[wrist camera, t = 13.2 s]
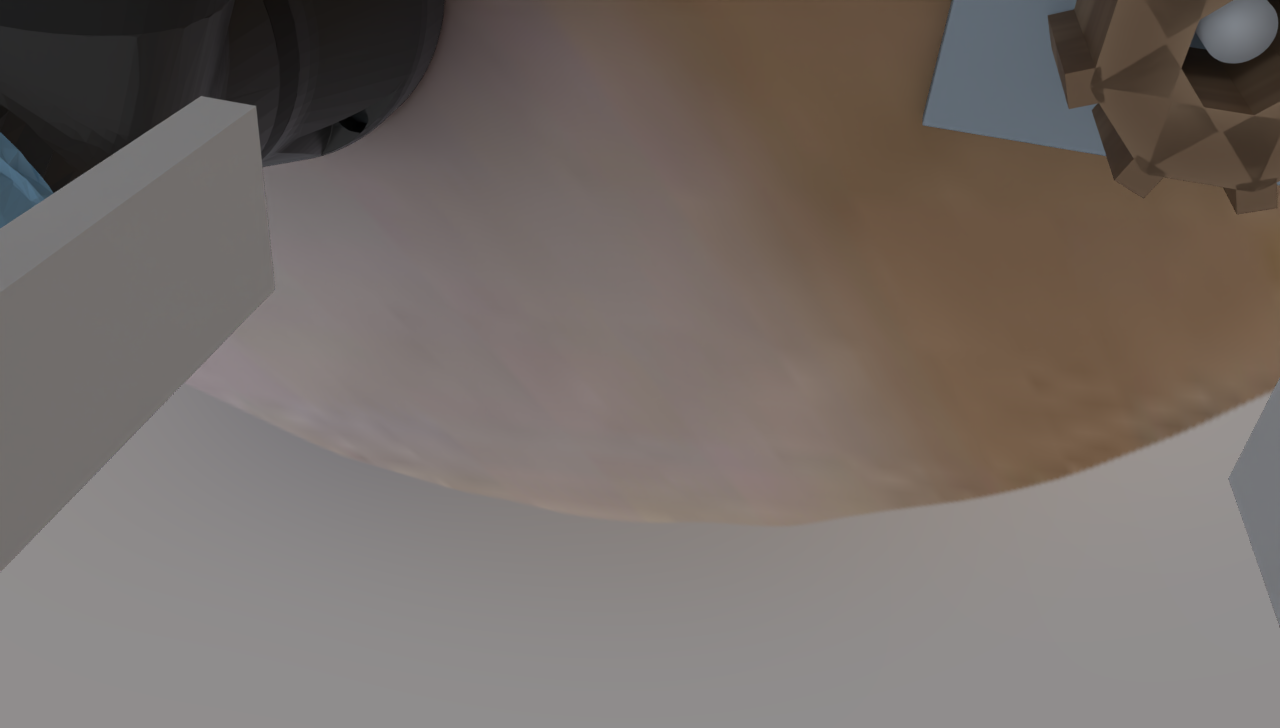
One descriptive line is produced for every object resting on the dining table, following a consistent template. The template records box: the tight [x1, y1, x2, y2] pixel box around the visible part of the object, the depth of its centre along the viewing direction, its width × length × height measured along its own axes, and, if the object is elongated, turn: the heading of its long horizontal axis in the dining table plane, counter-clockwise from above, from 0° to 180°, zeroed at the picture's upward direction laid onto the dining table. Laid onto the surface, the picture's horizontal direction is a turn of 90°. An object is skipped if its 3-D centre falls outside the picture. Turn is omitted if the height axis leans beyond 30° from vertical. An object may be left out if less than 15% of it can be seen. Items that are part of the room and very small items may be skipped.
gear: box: [1047, 0, 1280, 214], centre depth 34 cm, size 10×10×6 cm
